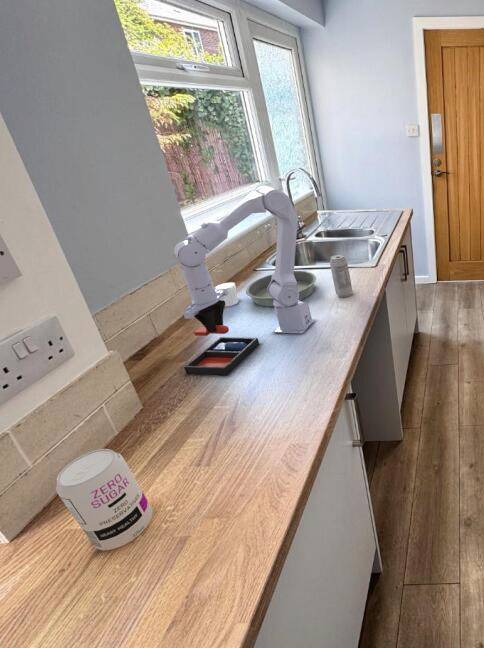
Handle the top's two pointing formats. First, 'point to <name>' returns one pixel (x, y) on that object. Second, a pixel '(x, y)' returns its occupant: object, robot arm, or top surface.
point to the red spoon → (203, 332)
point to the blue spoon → (230, 346)
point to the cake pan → (260, 286)
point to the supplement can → (104, 498)
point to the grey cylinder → (341, 275)
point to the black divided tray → (220, 358)
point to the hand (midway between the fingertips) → (216, 328)
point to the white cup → (232, 293)
